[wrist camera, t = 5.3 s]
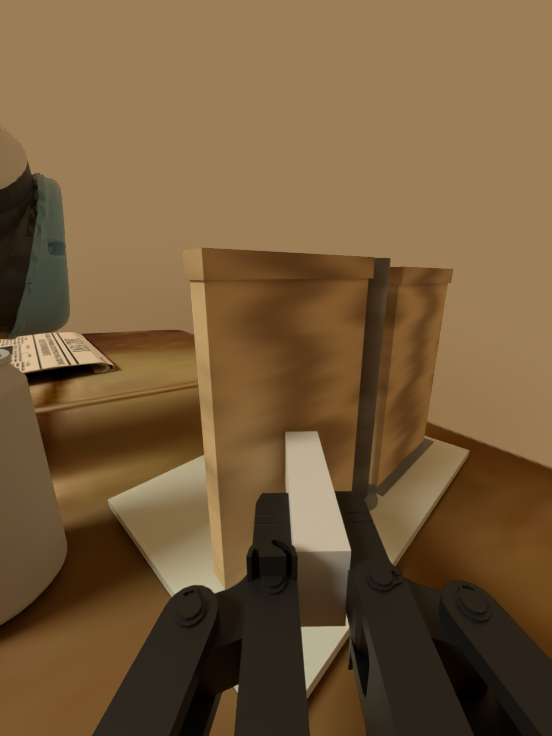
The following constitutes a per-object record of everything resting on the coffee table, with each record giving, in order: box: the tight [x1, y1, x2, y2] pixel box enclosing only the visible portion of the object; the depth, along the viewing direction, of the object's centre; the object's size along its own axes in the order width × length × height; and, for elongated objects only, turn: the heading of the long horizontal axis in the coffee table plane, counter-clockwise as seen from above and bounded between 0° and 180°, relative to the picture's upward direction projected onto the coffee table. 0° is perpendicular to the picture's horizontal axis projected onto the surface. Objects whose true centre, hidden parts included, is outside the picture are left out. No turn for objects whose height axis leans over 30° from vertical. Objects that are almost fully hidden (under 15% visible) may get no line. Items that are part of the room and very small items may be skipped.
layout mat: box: [108, 436, 470, 699], centre depth 24 cm, size 16×24×1 cm, turn 136°
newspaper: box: [0, 332, 114, 374], centre depth 60 cm, size 37×19×3 cm, turn 39°
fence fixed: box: [369, 267, 453, 487], centre depth 23 cm, size 9×2×15 cm, turn 136°
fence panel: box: [183, 248, 390, 590], centre depth 16 cm, size 11×2×15 cm, turn 127°
